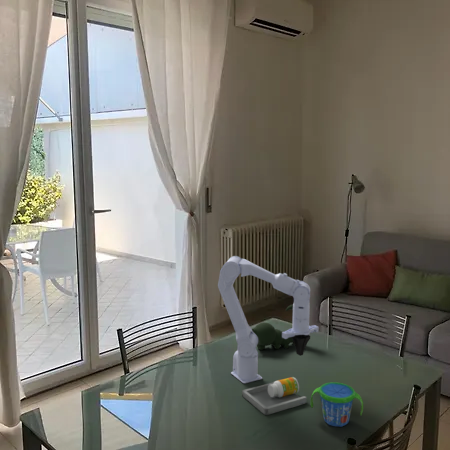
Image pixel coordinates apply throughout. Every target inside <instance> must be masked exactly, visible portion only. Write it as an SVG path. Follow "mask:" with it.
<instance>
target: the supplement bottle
mask: <svg viewBox="0 0 450 450" xmlns="http://www.w3.org/2000/svg"><path fill="white" fill-rule="evenodd" d="M273 382H274V383H273V384H271V385H268V394H269V395H270V397H275V396H277V397H279V398H280V397H284V396H288V395H292V394H297V393H299V391H300V384H299V382H298V379H297V378H296V377H294V376H291V377H287V378H283V379H278V380H275V381H273Z"/></svg>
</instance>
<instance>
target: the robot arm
mask: <svg viewBox="0 0 450 450" xmlns="http://www.w3.org/2000/svg"><path fill="white" fill-rule="evenodd" d="M240 274H241V275H240ZM239 276H240V277H241V278H242V277H247V276H253V277H255V278H257V279H260V280H262V281H265V282H267V283H269V284H271V285H272V288H273V289H275V290H277V291H279V292H281V293H283V294H286V295H288V296H290V297H291V296H292V297H293V304H292V305H293V310H292V326H291V327H292V328H291V327H290V328H289V329H287V330H283V331H284V332H282V338H284V339H288V338H289V337H291V338H292V340H293V342H294V344H293V345H294V348H295V352H296V355H298V356H301V357H302V356H303V355H304V353H305V350H306V348H307V347H306V346H307V344H308V342H309V341H310V340H311V334H312V333H319V326H318V325H315V324H313V325H310V312H311V311H310V309H311V308H310V307H311V306H310V302H311V301H310V298H311V287H310V285H309V284H308V282H305V281H303V280H299V279H294V278H292V277H290V276H288V274H287V273H286V272H283V273H281V272H279V273H276V274H275V273H273V272H271V271H270V270H267V269H265V268H263V267H261V266H259V265H257V264H255V263H254V262H251V261H249V260H248V259H245V258H242V257H240V256H238V255H233V256H231V257H229V259H227V261H226V262H225V263H224V264H223V265H222V267H221V269H220V270H219V277H218V282H217V288H218V290H219V293H220V296H221V299H222V300H223V303H224V306H225V308H226V311H227V313H228V316H229V318H230V321H231V324H232V326H233V329H234V331H235V341H236V343H237V346H236V347H237V350H236V351H234V354H233V356H232V371H231V372H230V374H231V375H232V376H233V377H235V378H236V379H237V380H239V381H240V382H241V383H243V384H248V383H253V382H255V381H259V380H263V376H261V375H260V374H258V371H259V369H258V365H259V364H258V363H259V361H258V360H259V352H258V350H257V344H258V337H257V335H256V334H255V333H254V332H253V331H252V329H253V328H252V327H251V326H250V325H249V324H248V321H247V318H246V315H245V313H244V311H243V307H242V306H241V303H240V300H239V298H238V295H237V293H236V290H235V287H234V283H235V281H236V279H237V278H238V277H239ZM310 333H311V334H310Z"/></svg>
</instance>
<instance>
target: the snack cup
mask: <svg viewBox="0 0 450 450" xmlns="http://www.w3.org/2000/svg"><path fill="white" fill-rule="evenodd" d="M316 393H318V394H319V397H320V401H321V408H322V417H323V421H324V422H325V423H327V425H328V426H331V427H340V428H342V427H343V426H346V425H347V424H349V422H350V417H351V412H352V407H353V401H354V399H357V400H358V401H359V403H360V412H359V414H360V416H362V415H363V411H364V401H363V399H362V397H361V395H360V394H359V393H357V392H356V391H355V389H354V388H353V387H352V386H351V385H350V384H349V385H348V384H345V383H342V382H338V381H337V382H335V381H334V382H333V381H332V382H326V383H323V384H322V385H320V387H316V388H315V389H314V390H313V392H312V394H311V396H310V401H309V402H310V408H313V407H314V399H313V397H314V395H315V394H316Z"/></svg>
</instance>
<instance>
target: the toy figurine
mask: <svg viewBox="0 0 450 450" xmlns="http://www.w3.org/2000/svg"><path fill="white" fill-rule="evenodd" d="M291 310H292V311H293V304H290V305H288V306H287V307H286V309H285V311H287V312H288V311H291ZM291 328H292V326H291V327H290V329H291ZM251 329H252V331H253V332H254V333H255V334H256V335H257V337H258V344H257V346H256V348H257V349H258V350H260V351H263V350H264V349H265V348H266V346H270V345H271V346H273V348H274V349H275V350H279V349H280V348H281V347H284V349H285V350H286V349H289V347H290V344H291V343H292V345H294V342H293V340H292V338H291V337H289V338H288V339H284V338H282V332H284V331H285V330H280V329H278V328H275V327H274V326H273V325H272V324H271V323H270V322H269V323H268V322H265V321H264V322H260V323H258V324H257V325H256V326H255V327H253V328H251Z"/></svg>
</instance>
